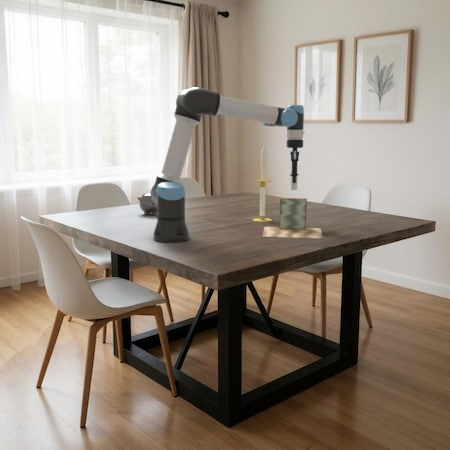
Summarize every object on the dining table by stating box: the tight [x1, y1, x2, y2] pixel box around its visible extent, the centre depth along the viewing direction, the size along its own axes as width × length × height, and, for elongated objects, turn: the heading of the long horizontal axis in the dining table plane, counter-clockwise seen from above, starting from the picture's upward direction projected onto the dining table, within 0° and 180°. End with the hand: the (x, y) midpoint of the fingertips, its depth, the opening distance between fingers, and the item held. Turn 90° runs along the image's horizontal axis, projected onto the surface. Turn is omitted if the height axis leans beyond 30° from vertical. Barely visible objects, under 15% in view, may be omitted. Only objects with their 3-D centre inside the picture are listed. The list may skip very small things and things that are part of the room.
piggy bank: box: [137, 192, 157, 217], centre depth 287 cm, size 11×15×12 cm
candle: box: [252, 145, 273, 223], centre depth 269 cm, size 10×10×38 cm
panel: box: [278, 197, 308, 230], centre depth 249 cm, size 12×3×14 cm, turn 83°
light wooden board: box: [261, 226, 324, 240], centre depth 242 cm, size 26×22×1 cm
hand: (294, 189), depth 256 cm, fingers closed
